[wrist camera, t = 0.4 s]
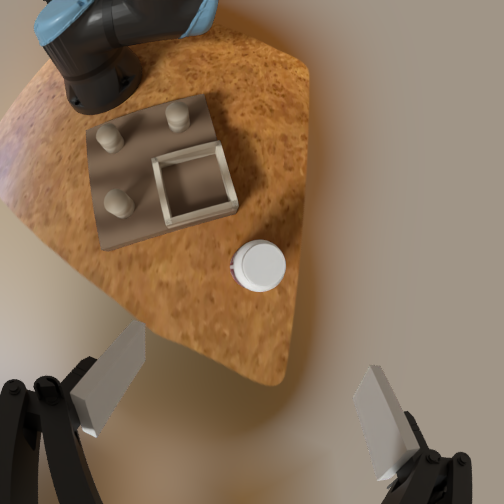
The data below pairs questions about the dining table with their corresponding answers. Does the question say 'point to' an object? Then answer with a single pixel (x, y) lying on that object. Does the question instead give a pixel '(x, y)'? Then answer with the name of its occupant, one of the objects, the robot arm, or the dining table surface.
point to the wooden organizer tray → (157, 173)
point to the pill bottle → (258, 265)
